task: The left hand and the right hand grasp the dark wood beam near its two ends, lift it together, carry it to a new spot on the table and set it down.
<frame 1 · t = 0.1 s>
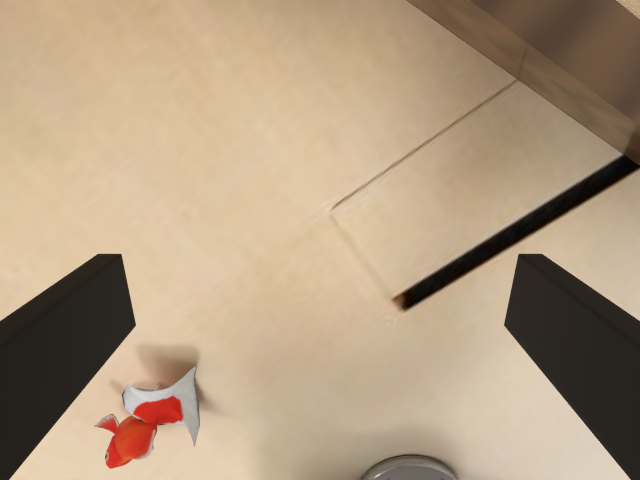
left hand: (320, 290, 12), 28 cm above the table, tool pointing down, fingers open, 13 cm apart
beam: (515, 37, 35), on the table
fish: (164, 390, 49), on the table
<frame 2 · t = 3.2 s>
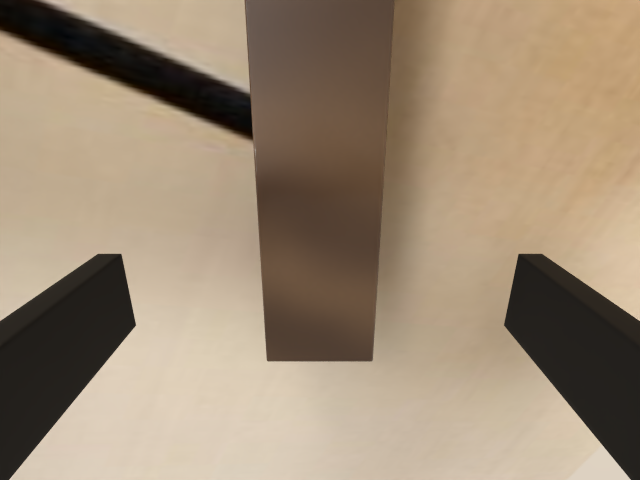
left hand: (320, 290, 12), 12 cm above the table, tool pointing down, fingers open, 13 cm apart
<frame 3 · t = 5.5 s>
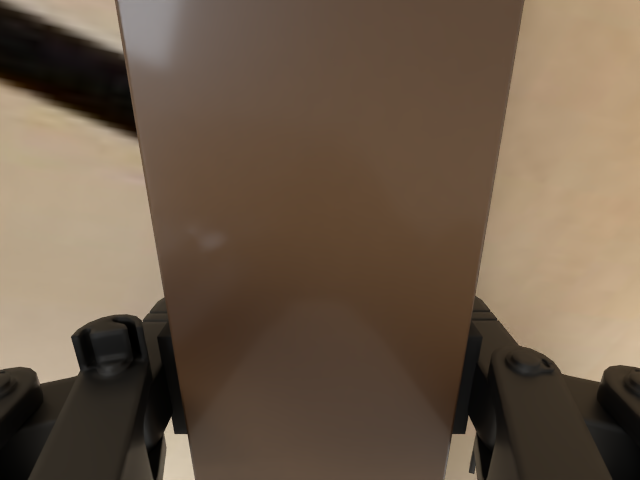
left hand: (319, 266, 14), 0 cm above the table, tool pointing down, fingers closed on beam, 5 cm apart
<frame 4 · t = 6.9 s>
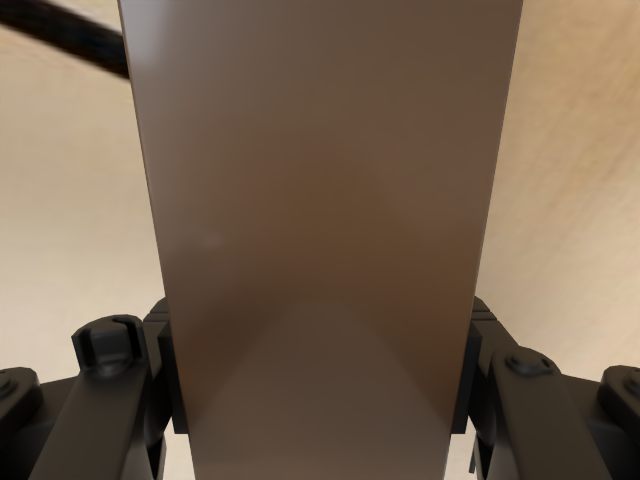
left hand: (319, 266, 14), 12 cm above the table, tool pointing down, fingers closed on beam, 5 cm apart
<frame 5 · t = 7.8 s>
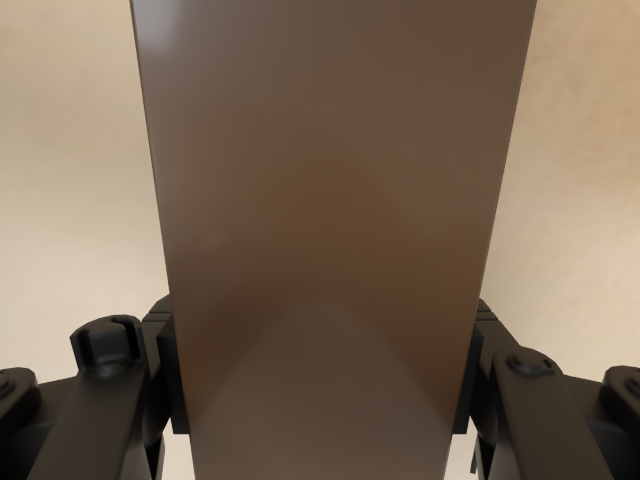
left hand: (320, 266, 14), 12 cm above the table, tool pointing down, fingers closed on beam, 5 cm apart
when the left hand's fingers open (2 cm above the table, at t = 10.5 s): beam drops 2 cm, on the table.
when the right hand's fingers open (2 cm above the table, at t = 10.5 s): beam drops 2 cm, on the table.
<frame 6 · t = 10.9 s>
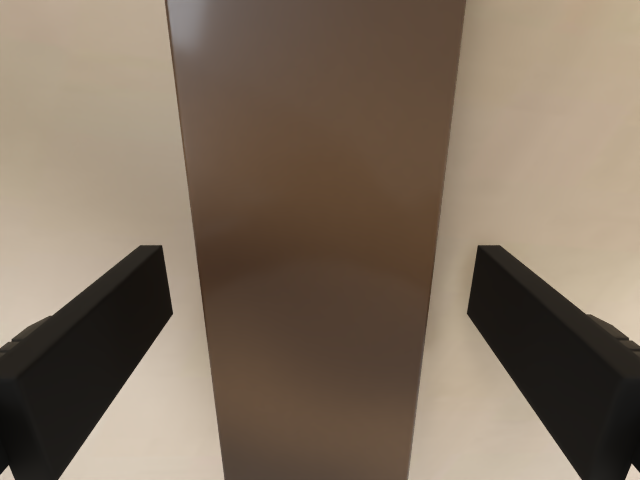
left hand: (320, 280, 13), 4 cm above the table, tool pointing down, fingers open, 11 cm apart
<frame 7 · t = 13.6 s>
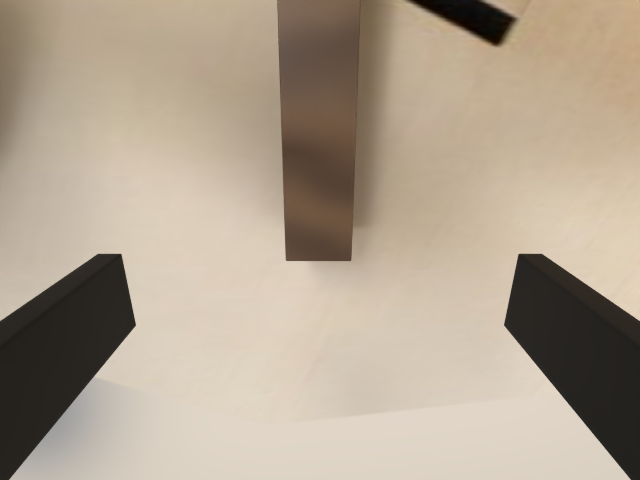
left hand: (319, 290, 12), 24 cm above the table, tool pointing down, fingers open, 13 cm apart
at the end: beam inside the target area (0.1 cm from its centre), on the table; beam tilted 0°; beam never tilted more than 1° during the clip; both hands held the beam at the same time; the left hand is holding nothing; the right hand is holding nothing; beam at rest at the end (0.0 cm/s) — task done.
